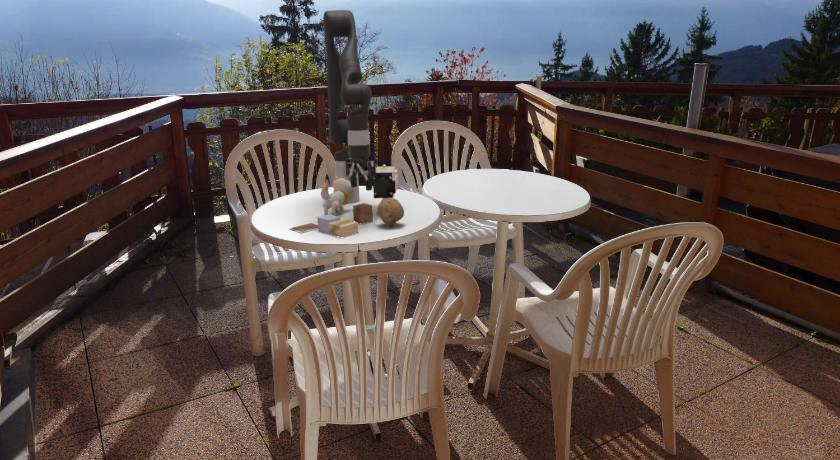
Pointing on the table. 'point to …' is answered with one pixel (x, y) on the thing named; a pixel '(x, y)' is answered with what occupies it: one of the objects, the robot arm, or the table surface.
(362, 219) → the walnut cube
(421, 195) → the table surface
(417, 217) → the table surface
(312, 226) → the tile
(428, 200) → the table surface
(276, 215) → the table surface
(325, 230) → the bluegrey block
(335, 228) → the oak base
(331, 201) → the toy
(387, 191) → the black and cream box
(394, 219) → the natural sponge
